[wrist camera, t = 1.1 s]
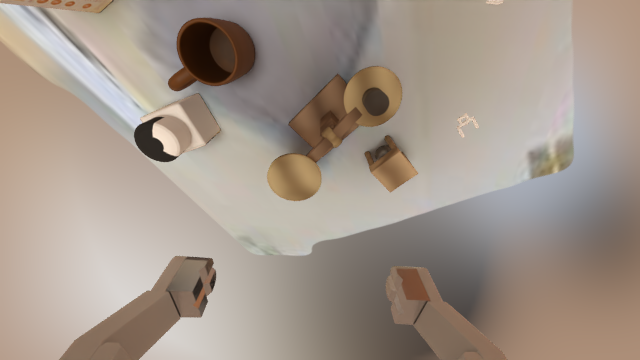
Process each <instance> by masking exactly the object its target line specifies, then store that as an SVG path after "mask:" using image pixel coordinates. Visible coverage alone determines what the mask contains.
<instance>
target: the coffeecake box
mask: <svg viewBox="0 0 640 360" xmlns="http://www.w3.org/2000/svg"><path fill="white" fill-rule="evenodd" d="M111 1H113V0H0V3H5V4H15V5H25V6H35V7H45V8H55V9H65V10H75V11H85V12H94V13H100V12H101V11H102V10H103V9H104V8H105V7H106V6H107V5H108V4H109V3H110V2H111Z"/></svg>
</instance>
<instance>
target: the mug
mask: <svg viewBox="0 0 640 360" xmlns="http://www.w3.org/2000/svg"><path fill="white" fill-rule="evenodd" d="M177 51H178V55H179V58H180V60H181V62H182V64H183V66H184V68H182V69H181V70H179V71H178V72H177V73H175V74H174V75H173V76H172V77H171V78H170V79H169V81H168V85H169V87H170V88H171V89H172V90H174V91H180V90H183V89H185V88H187V87H188V86H190V85H191V84H193V83H194V82H196V81H197V80H198V81H200V82H201V83H204V84H207V85H211V86H220V85H224V84H228V83H230V82H232V81H234V80H236V79H238V78H239V77H241V76H243V75H244V74H246V73H247V72H248V71H249V70H250V69H251V67H252V66H253V63H254V59H255V49H254V45H253V42H252V40H251V38H250V36H249V35H248V34H247V32H246V31H245V30H244V29H243V28H242V27H240V26H239V25H237V24H235V23H233V22H230V21H225V20H220V19H214V18H196V19H192V20H190V21H188V22H186V23H185V24H184V25H183V26H182V27H181V29H180V31H179V33H178V37H177Z"/></svg>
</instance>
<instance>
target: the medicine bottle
mask: <svg viewBox="0 0 640 360" xmlns="http://www.w3.org/2000/svg"><path fill="white" fill-rule="evenodd" d="M140 120H141V121H142V124H140V125H139V126H138V127H137V128H136V130H135V132H134V138H135V142H136V144H137V146H138V148H139V149H140V150H141V151H142V152H143V153H144V154H145V155H146V156H148V157H149V158H151V159H154V160H156V161H160V162H170V161H173V160H175V159H176V158H177V157H178V156H179V155H181V154H182V153H185V152H188V151H190V150H193V149H196V148H199V147H202V146H205V145H206V144H207V143H208V142H209V141H210V140H211V139H212V138H213V137H214V136H215V135H216V134H217V133H218V132H219V131H220V128H219V126H218V124H217V123H216V121H215V119H214V118H213V116H212V114H211V113H210V111H209V109H208V108H207V106H206V104H205V103H204V101H203V99H202V98H201V96H200V95H199V94H194V95H192V96H189V97H187V98H184V99H182V100H179V101H177V102H174V103H172V104H169V105H167V106H164V107H162V108H160V109H158V110H156V111H154V112H152V113H149V114H147V115H145V116H143V117H141V118H140Z"/></svg>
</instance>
